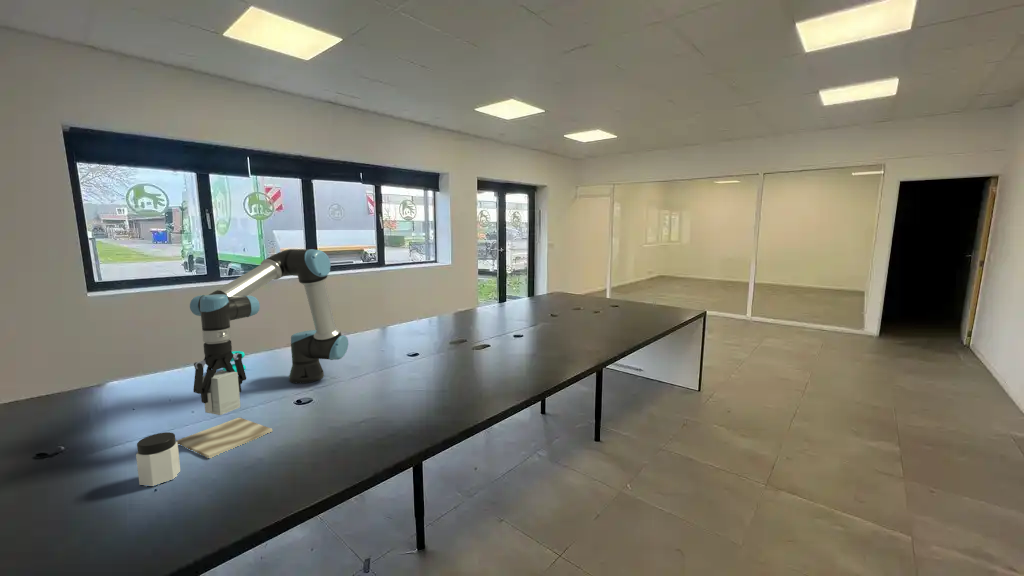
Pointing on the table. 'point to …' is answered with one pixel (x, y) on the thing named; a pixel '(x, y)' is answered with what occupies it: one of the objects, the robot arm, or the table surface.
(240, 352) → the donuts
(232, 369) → the robot arm
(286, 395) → the table surface
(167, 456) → the jar
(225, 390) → the supplement box
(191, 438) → the birch board
